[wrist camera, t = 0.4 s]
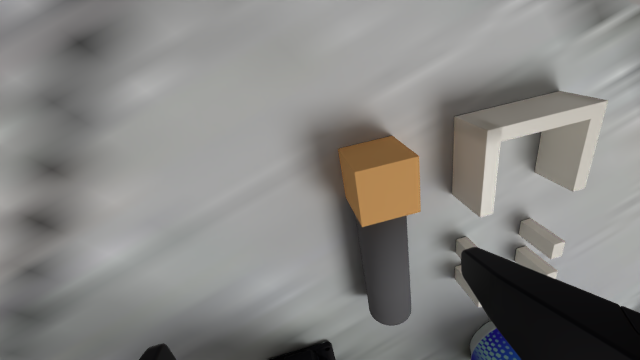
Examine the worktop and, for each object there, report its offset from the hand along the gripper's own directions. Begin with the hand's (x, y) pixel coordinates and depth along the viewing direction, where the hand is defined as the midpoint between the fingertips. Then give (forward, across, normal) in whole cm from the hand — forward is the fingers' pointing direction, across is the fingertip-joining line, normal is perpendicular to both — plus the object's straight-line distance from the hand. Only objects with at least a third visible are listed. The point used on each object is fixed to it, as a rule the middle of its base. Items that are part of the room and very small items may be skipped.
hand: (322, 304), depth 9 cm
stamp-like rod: (+13, -6, +7) cm, 16 cm away
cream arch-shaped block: (+13, -17, +4) cm, 22 cm away
